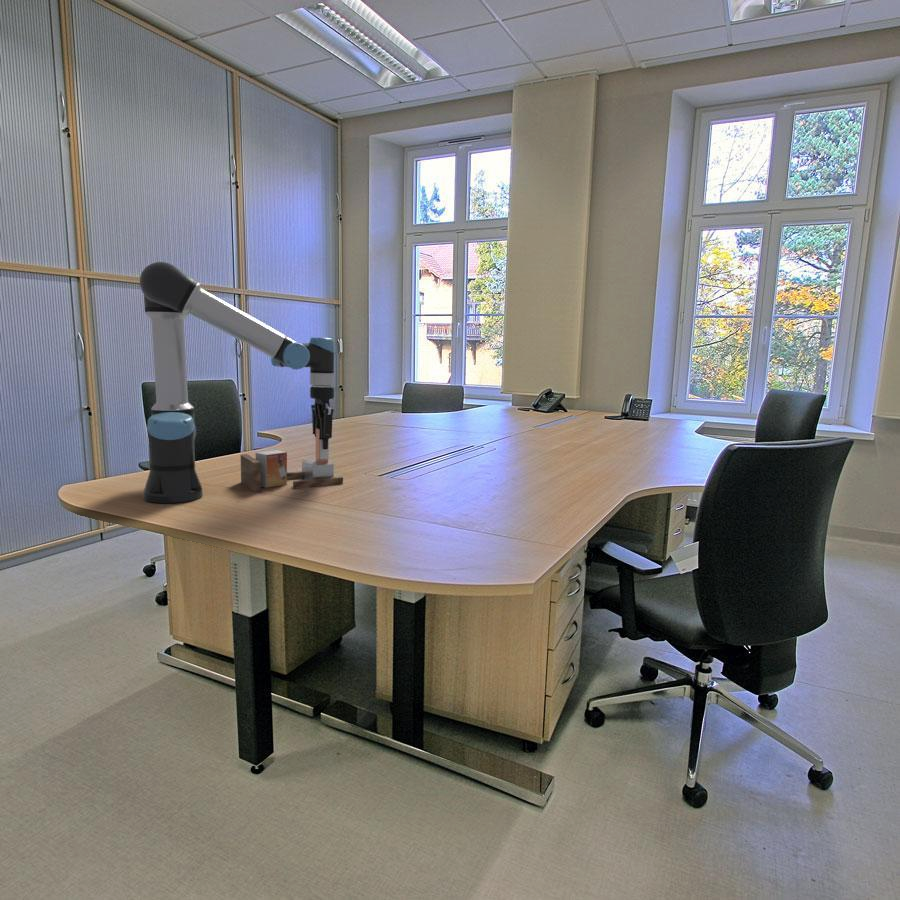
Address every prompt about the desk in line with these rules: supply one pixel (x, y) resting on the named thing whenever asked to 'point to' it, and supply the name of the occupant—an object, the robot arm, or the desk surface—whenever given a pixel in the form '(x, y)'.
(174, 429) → the robot arm
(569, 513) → the desk surface
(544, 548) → the desk surface
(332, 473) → the mallet
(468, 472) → the desk surface
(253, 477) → the frame
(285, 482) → the small box
